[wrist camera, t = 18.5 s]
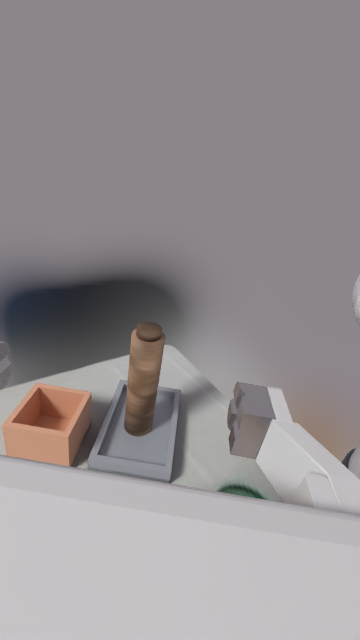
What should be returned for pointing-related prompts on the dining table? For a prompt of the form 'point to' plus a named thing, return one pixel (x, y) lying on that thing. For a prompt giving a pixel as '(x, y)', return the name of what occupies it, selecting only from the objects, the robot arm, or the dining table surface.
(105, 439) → the tray
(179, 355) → the dining table surface
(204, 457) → the dining table surface
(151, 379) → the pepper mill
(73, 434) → the orange open box
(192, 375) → the dining table surface
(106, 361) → the dining table surface
